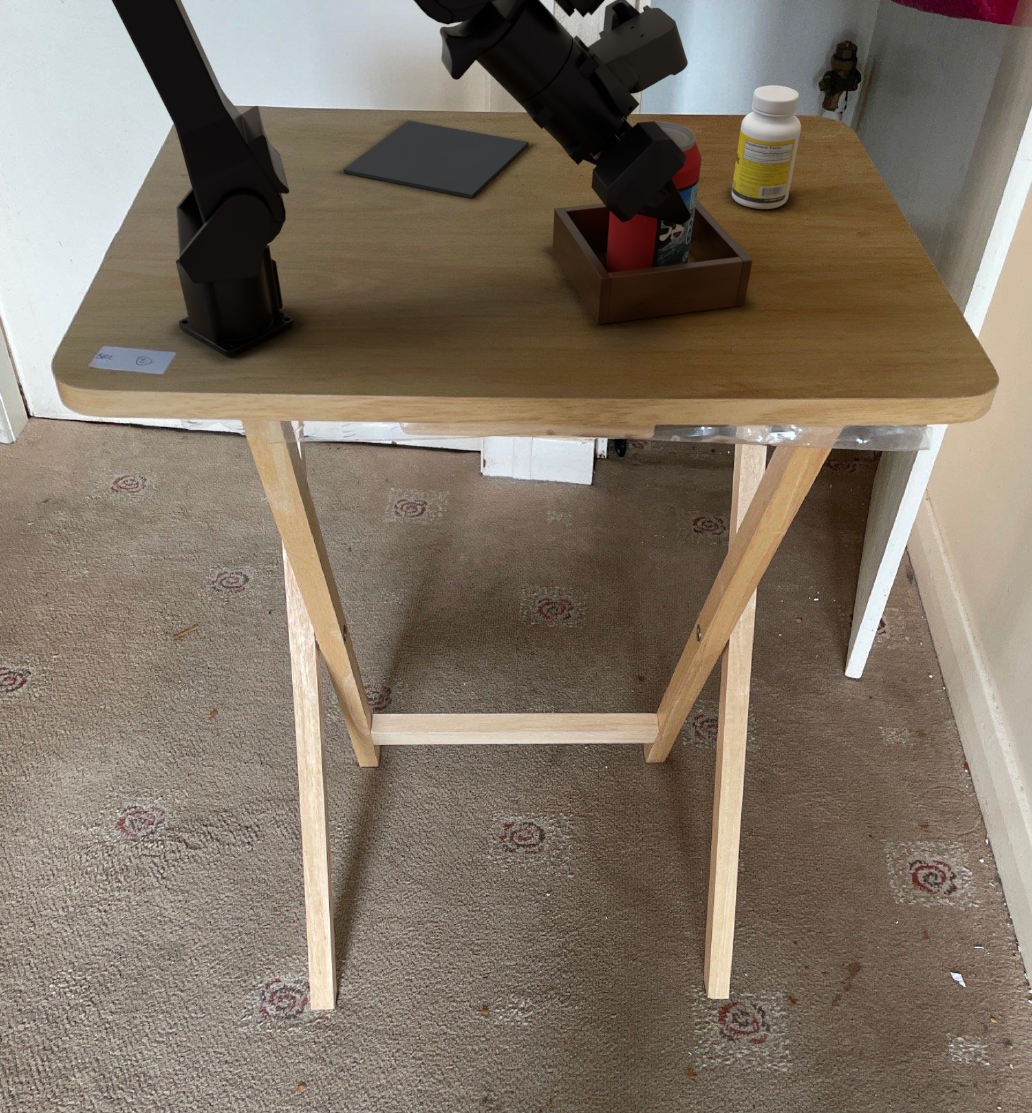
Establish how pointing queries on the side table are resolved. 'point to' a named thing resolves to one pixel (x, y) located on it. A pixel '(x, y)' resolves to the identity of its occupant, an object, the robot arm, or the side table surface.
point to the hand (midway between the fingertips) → (669, 200)
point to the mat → (437, 158)
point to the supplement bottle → (767, 149)
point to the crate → (649, 269)
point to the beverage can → (654, 238)
